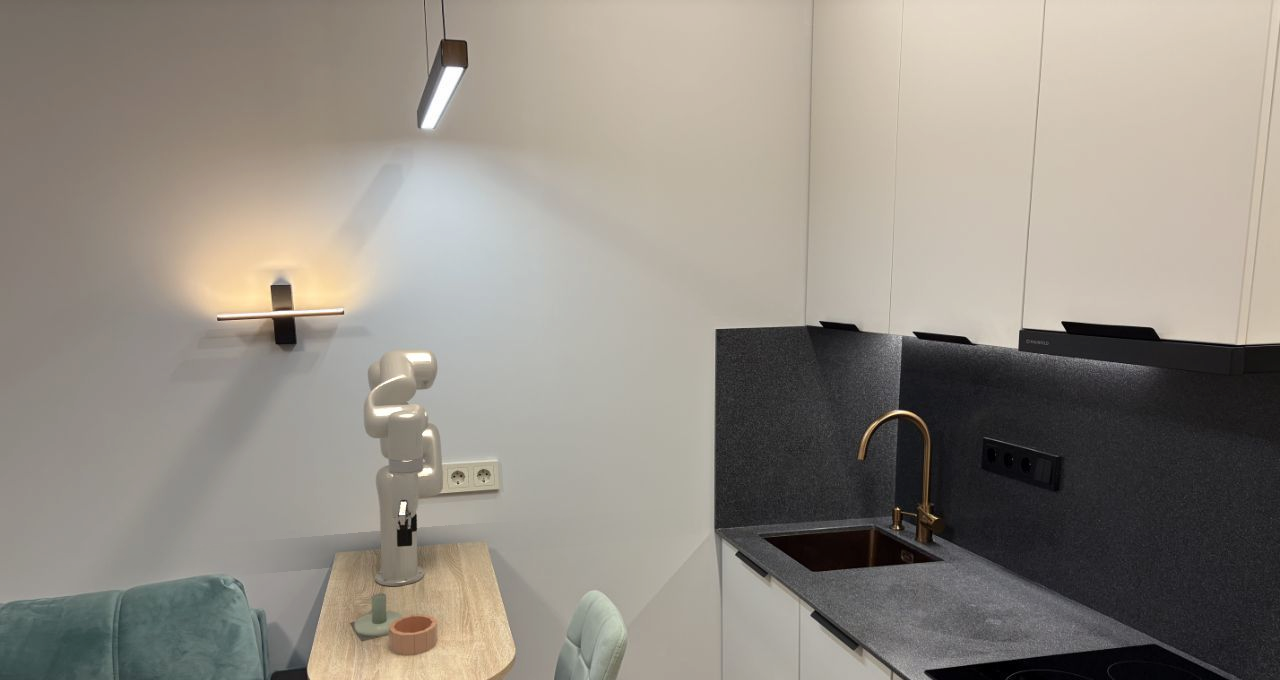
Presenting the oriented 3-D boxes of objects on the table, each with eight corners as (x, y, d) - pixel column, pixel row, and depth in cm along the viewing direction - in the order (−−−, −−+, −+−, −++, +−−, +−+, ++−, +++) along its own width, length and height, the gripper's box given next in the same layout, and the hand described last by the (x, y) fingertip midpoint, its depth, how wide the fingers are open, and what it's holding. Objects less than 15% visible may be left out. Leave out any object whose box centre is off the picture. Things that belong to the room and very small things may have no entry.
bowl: (384, 642, 174) (384, 621, 174) (428, 631, 180) (428, 610, 179) (397, 661, 166) (397, 639, 166) (443, 649, 172) (442, 627, 171)
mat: (349, 624, 183) (349, 622, 183) (396, 613, 189) (396, 611, 189) (361, 643, 174) (361, 641, 174) (410, 631, 180) (410, 629, 180)
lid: (349, 622, 183) (348, 593, 182) (396, 611, 189) (395, 583, 188) (361, 641, 174) (360, 610, 173) (410, 629, 180) (409, 599, 179)
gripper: (393, 456, 183) (395, 527, 185) (383, 475, 166) (384, 552, 168) (426, 455, 184) (427, 525, 186) (419, 474, 167) (420, 551, 169)
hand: (407, 538), depth 177 cm, fingers open, 9 cm apart
